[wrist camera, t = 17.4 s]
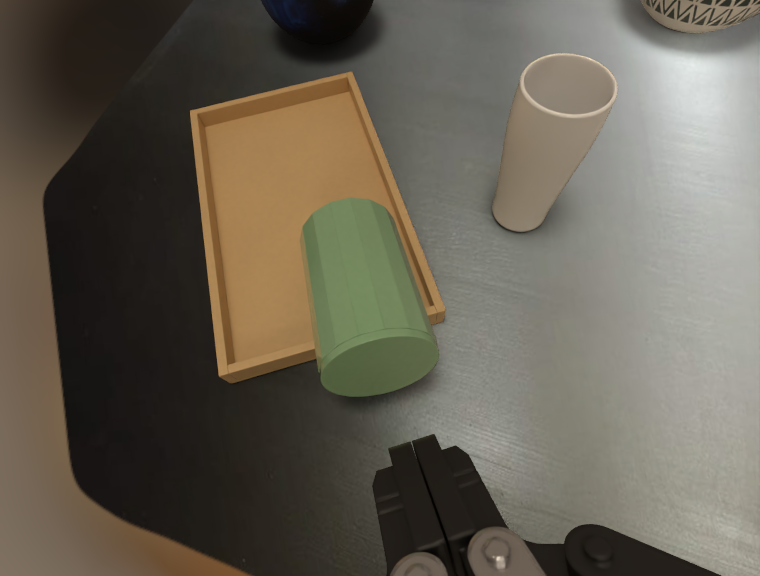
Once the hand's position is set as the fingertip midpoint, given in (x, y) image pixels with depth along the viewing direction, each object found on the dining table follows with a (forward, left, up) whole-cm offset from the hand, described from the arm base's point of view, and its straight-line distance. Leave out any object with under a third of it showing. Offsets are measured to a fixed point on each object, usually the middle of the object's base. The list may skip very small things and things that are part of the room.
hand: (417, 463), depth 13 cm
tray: (-3, +28, -21) cm, 35 cm away
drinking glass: (+18, +21, -22) cm, 35 cm away
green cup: (0, +7, -14) cm, 15 cm away
